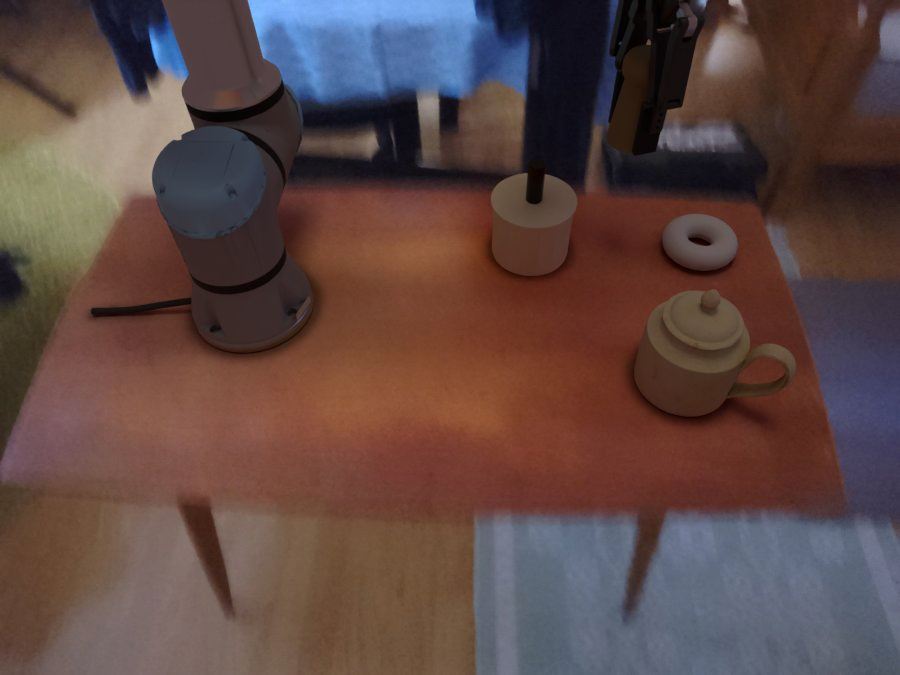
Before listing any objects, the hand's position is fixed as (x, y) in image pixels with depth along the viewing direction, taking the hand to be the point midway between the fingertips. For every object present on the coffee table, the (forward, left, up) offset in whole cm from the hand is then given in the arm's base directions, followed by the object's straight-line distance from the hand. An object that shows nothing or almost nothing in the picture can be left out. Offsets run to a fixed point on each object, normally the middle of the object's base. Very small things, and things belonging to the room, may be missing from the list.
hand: (631, 136), depth 82 cm
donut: (+11, -5, -18) cm, 22 cm away
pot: (-11, +2, -18) cm, 21 cm away
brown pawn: (0, 0, -1) cm, 1 cm away
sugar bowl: (0, -25, -18) cm, 30 cm away
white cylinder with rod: (-11, +2, -9) cm, 14 cm away
